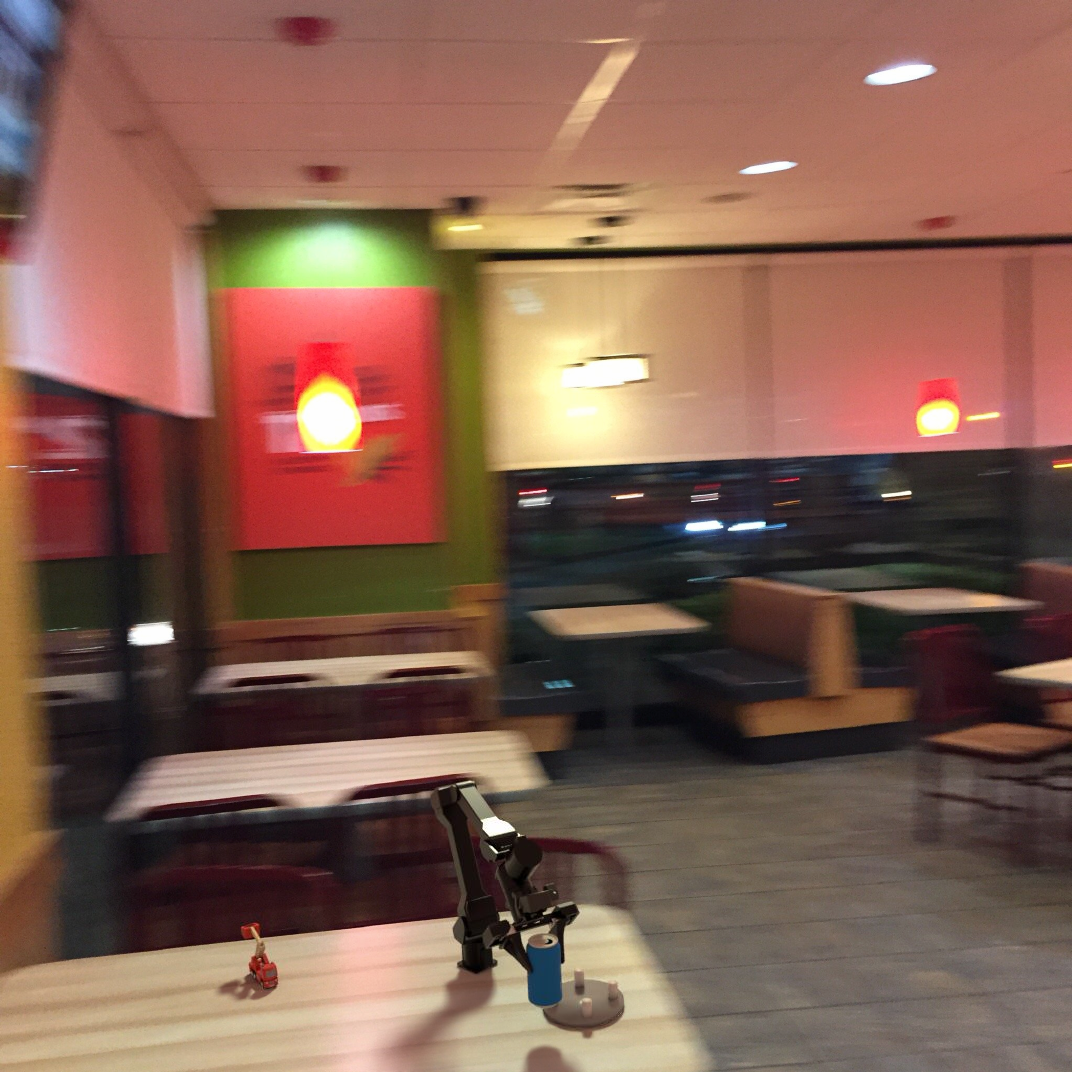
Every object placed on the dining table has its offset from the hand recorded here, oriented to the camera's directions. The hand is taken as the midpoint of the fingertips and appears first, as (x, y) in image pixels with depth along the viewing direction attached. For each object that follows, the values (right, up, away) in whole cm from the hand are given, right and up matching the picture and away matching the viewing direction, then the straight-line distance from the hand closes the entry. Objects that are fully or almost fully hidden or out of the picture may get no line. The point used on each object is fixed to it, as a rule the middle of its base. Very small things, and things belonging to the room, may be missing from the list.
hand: (547, 968), depth 195 cm
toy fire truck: (-61, -14, +30) cm, 70 cm away
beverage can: (0, -7, +2) cm, 7 cm away
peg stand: (+7, -12, +11) cm, 18 cm away
